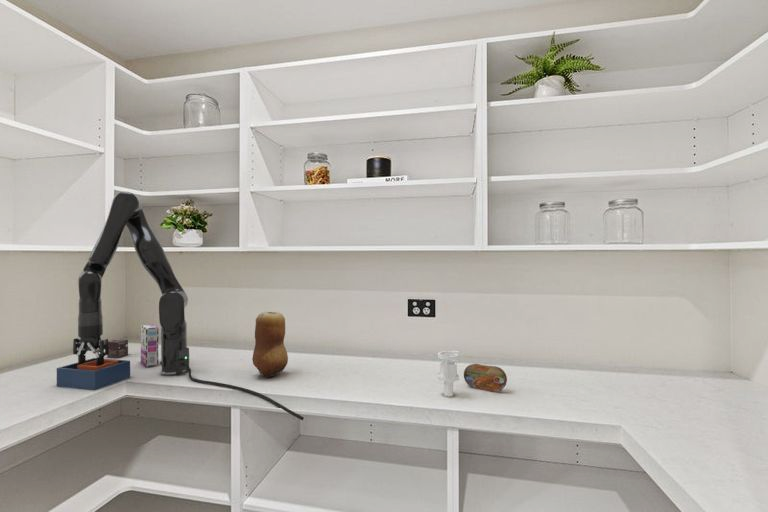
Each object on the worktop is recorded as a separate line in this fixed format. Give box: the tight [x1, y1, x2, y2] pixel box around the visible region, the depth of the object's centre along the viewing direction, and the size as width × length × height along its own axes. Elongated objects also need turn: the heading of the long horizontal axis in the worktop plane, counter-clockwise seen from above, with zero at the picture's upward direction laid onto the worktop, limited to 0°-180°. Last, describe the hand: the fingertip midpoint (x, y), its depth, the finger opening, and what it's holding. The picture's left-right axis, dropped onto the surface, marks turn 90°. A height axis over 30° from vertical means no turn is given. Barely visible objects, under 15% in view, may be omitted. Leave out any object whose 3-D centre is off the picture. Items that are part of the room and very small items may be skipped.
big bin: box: [56, 357, 131, 391], centre depth 151 cm, size 18×15×7 cm
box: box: [106, 338, 129, 359], centre depth 188 cm, size 6×6×7 cm
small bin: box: [77, 358, 119, 371], centre depth 151 cm, size 9×9×6 cm
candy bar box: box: [140, 324, 159, 368], centre depth 175 cm, size 11×5×16 cm, turn 42°
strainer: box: [437, 350, 460, 397], centre depth 136 cm, size 7×7×15 cm
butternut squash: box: [252, 311, 289, 379], centre depth 158 cm, size 14×13×25 cm
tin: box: [463, 363, 508, 393], centre depth 141 cm, size 15×3×8 cm, turn 56°
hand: (91, 366), depth 152 cm, fingers open, 8 cm apart
